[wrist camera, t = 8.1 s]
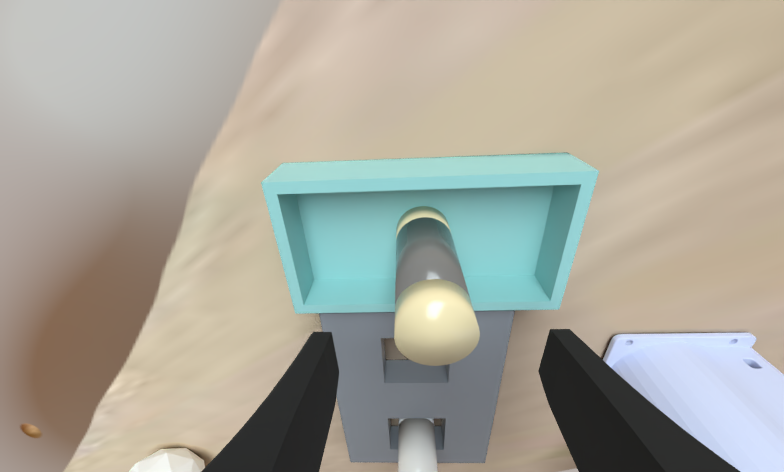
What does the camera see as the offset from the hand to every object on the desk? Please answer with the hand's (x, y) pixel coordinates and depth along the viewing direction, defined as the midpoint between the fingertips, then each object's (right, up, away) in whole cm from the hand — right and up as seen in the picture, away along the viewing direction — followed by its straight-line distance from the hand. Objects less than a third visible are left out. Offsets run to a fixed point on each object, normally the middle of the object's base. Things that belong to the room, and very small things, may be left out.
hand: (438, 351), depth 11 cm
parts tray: (0, +5, +8) cm, 9 cm away
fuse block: (0, -8, +15) cm, 17 cm away
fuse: (+1, -11, +17) cm, 21 cm away
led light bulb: (0, +4, +7) cm, 9 cm away
